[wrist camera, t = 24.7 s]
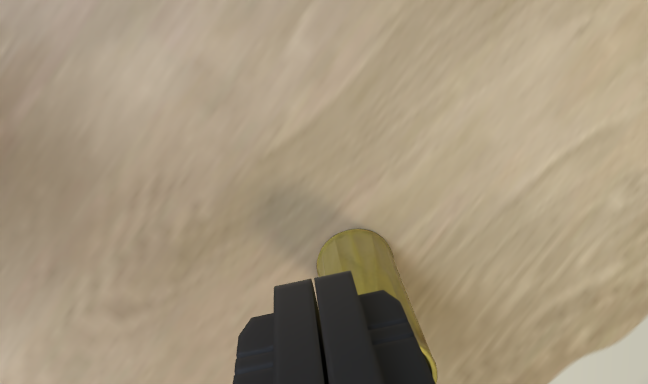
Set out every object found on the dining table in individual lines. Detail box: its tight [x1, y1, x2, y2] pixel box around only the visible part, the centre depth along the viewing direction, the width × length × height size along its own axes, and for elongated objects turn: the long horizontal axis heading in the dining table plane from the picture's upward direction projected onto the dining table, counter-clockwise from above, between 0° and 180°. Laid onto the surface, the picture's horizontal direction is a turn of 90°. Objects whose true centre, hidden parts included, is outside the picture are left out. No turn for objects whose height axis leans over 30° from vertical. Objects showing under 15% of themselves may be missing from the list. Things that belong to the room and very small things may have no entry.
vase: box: [317, 229, 437, 383], centre depth 36 cm, size 6×6×14 cm
